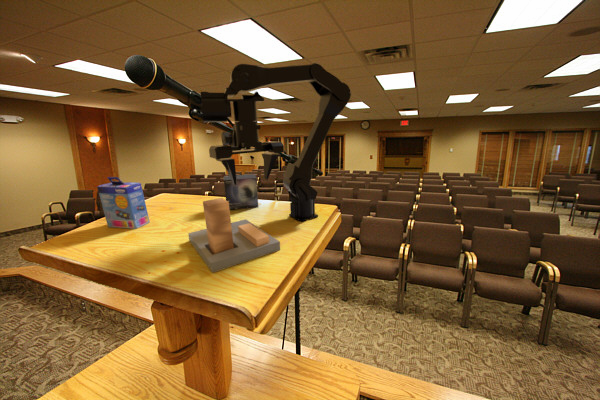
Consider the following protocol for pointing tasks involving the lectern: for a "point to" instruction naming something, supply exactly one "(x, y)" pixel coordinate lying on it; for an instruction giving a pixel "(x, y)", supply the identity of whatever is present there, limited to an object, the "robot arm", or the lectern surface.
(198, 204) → the lectern surface
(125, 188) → the ink cartridge box
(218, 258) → the baseplate
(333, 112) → the robot arm
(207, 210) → the ochre column
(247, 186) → the small box
